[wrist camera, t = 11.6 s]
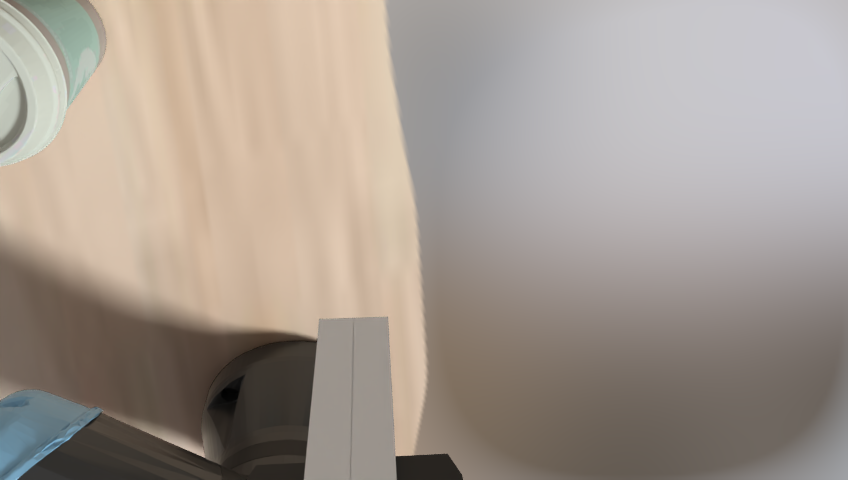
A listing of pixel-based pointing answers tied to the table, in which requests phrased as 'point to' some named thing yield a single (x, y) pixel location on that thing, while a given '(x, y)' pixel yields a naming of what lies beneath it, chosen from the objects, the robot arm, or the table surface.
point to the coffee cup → (43, 69)
